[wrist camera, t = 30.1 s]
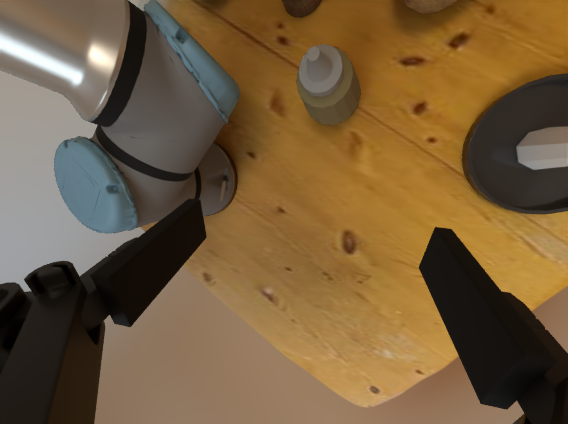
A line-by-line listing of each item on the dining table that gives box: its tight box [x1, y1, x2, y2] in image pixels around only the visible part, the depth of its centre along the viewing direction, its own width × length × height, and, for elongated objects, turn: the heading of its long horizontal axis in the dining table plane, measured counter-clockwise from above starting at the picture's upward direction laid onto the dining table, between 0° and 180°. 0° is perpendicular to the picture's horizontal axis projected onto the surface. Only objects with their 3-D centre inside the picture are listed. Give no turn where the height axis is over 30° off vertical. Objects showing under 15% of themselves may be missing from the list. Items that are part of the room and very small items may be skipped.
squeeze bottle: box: [296, 45, 361, 125], centre depth 29 cm, size 8×8×18 cm
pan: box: [462, 73, 568, 214], centre depth 30 cm, size 17×17×2 cm
